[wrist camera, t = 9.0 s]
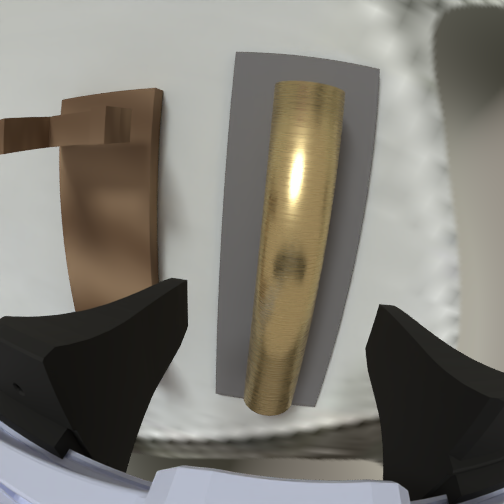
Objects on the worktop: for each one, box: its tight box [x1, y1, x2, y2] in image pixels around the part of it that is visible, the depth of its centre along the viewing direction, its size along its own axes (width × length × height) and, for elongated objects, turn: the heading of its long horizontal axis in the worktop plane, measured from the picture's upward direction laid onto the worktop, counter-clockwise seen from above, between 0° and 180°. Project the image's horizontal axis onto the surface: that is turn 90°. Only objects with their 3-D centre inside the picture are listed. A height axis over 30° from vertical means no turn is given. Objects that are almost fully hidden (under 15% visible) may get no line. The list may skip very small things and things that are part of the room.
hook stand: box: [0, 88, 163, 312], centre depth 14 cm, size 17×6×6 cm, turn 175°
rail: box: [244, 81, 345, 416], centre depth 14 cm, size 17×3×3 cm, turn 175°
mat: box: [216, 52, 380, 407], centre depth 16 cm, size 21×7×1 cm, turn 175°
